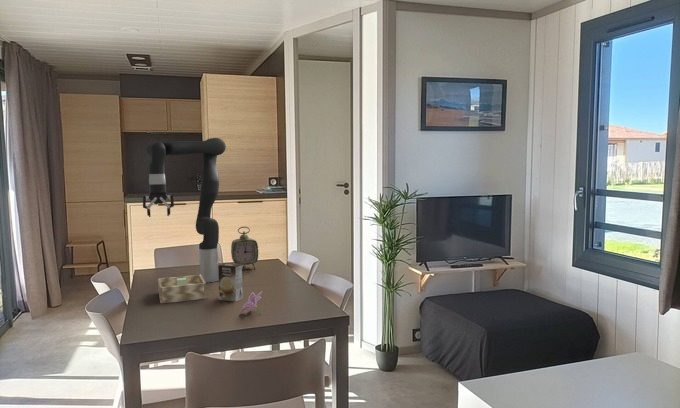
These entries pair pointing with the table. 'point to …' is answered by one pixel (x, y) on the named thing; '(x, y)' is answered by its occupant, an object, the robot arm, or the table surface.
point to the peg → (181, 281)
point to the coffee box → (230, 281)
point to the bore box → (182, 289)
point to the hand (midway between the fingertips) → (158, 216)
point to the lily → (251, 302)
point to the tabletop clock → (244, 250)
